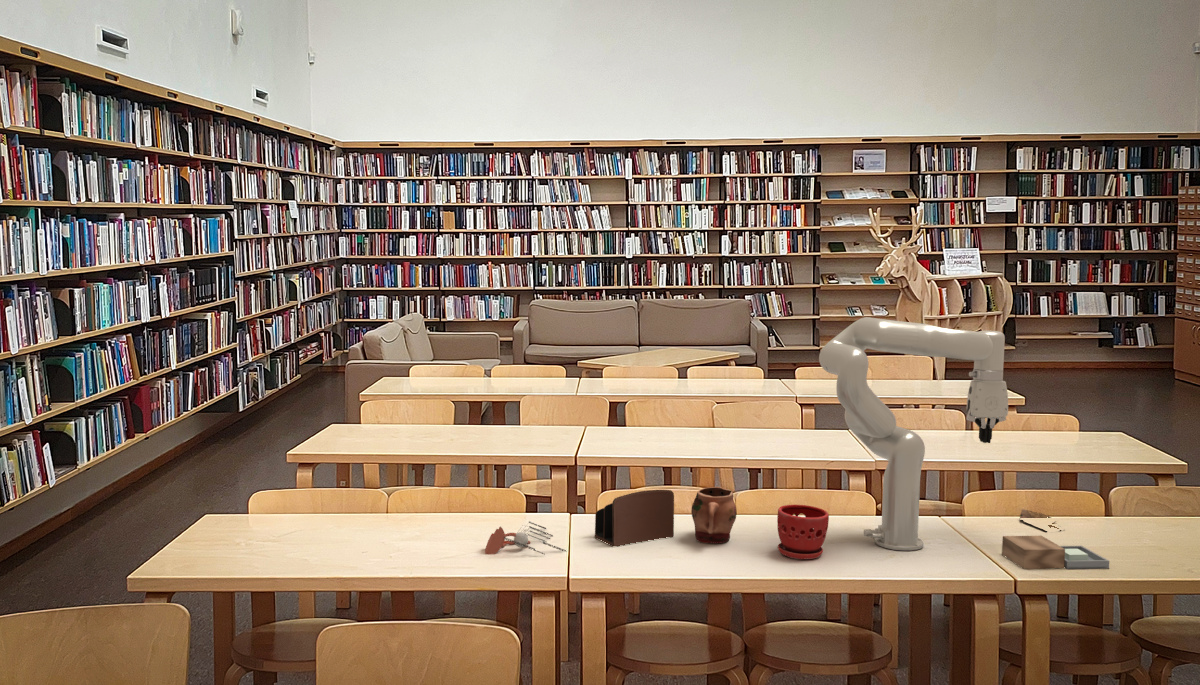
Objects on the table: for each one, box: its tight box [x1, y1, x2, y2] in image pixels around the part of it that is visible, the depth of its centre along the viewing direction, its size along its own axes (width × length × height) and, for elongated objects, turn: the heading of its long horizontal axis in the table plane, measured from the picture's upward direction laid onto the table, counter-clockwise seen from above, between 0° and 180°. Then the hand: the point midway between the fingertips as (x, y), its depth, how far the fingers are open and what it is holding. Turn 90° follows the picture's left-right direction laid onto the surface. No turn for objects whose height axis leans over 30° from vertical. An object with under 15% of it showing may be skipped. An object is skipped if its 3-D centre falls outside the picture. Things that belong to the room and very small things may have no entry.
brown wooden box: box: [1001, 535, 1065, 570], centre depth 264 cm, size 10×12×5 cm
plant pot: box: [776, 504, 830, 560], centre depth 268 cm, size 13×13×12 cm
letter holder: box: [594, 489, 675, 547], centre depth 282 cm, size 10×20×14 cm, turn 121°
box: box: [1059, 545, 1110, 570], centre depth 265 cm, size 11×13×2 cm
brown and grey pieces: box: [484, 521, 567, 556], centre depth 276 cm, size 21×9×25 cm
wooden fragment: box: [1019, 509, 1059, 529], centre depth 303 cm, size 26×11×1 cm, turn 169°
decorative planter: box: [691, 486, 738, 544], centre depth 279 cm, size 20×12×14 cm, turn 175°
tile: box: [1065, 549, 1088, 561], centre depth 265 cm, size 5×5×2 cm
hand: (985, 441), depth 282 cm, fingers closed
